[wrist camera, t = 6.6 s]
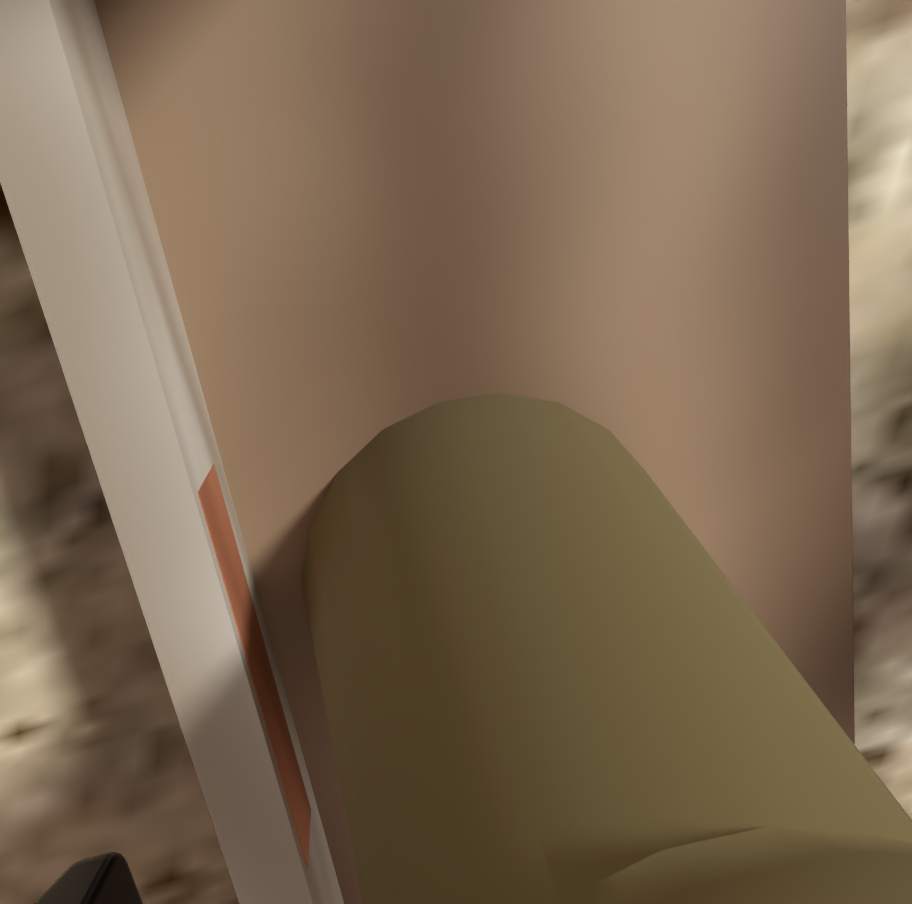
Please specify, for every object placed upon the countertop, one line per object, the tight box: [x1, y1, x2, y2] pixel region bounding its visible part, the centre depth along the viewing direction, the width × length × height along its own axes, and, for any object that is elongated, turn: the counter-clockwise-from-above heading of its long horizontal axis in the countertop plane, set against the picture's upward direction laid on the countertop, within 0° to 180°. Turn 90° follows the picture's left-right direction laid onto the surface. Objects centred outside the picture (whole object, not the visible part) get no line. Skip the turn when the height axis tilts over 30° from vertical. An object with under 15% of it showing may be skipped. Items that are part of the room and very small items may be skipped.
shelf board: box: [0, 0, 855, 904], centre depth 10 cm, size 11×28×3 cm, turn 10°
